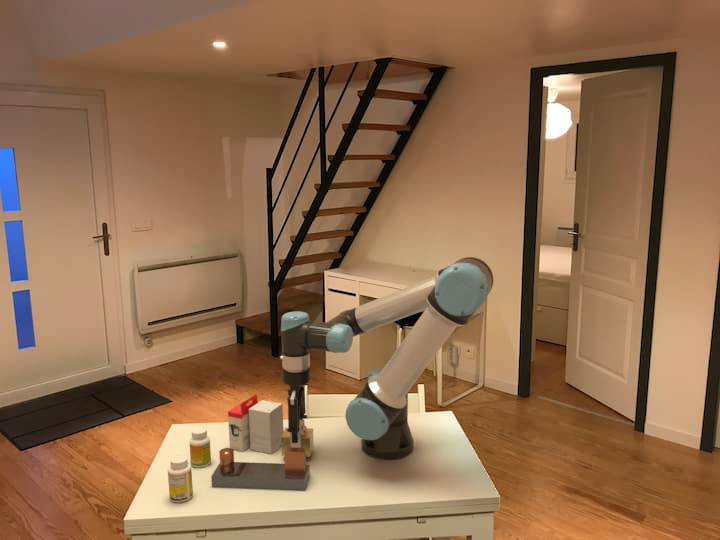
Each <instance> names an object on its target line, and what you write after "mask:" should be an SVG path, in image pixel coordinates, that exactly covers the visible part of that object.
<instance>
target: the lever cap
mask: <svg viewBox="0 0 720 540" xmlns="http://www.w3.org/2000/svg"><path fill="white" fill-rule="evenodd" d="M287 429H288V427H285V428H284V429H283V430H284V432H283V434H282V436H281V447H280V449H281V450H280V451H281V456H284V457H285V450H286V447H291V446H290V432H288V431H287ZM299 429H300V438H301V448H306V457H311V456H312V455H311V454H312V452H313V449H314V428H309V427H308V428H307V425H302V426H301V428H299Z"/></svg>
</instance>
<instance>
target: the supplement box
mask: <svg viewBox="0 0 720 540" xmlns="http://www.w3.org/2000/svg"><path fill="white" fill-rule="evenodd" d="M248 410H249V428H250V447H249V448H250V450H252V451H256V452H261V453H265V454H269V455H270V454H271V455H272V454H273V453H275V451H277V450H278V449H280V448H281V436H282V434H283V432H284V430H285V429H284V405H283V403H282V402H281V403H280V402H275V401H270V400H269V401H268V400H263V399H262V400H260V401H258V403H257V404H256V405H254V406H252V407H251V408H249V409H248Z"/></svg>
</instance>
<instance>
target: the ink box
mask: <svg viewBox="0 0 720 540" xmlns="http://www.w3.org/2000/svg"><path fill="white" fill-rule="evenodd" d="M257 403H259V401H258V394H257V393H256V394H254V395H252V396H250V397H248V398H246V400H243V402H241V403H239V404H237V405H236V406H234V407H233V408H231V409H229V410H228V411H227V416H228V418H227V419H228V421H227V422H228V436H229V437H228V438H229V439H228V440H229V442H228V443H229V448H232V449H233V450H234V451H235V450H236V451H240V452H245V451H246V450H248V448H250V428H249V410H248V409H249V408H251V407H252V406H254V405H256V404H257Z"/></svg>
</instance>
